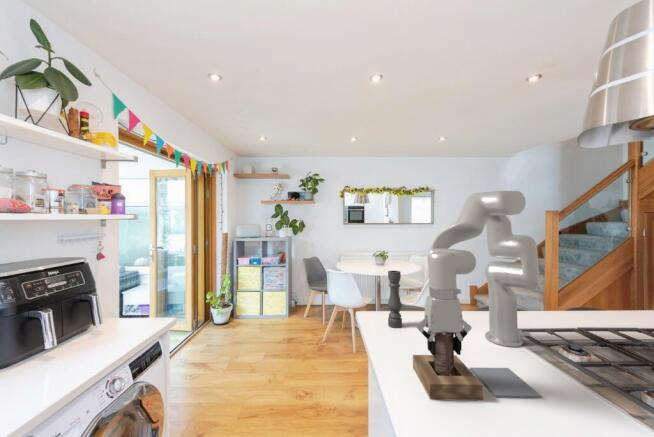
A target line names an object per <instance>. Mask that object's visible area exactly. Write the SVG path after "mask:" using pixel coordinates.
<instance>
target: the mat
mask: <svg viewBox="0 0 654 437" xmlns="http://www.w3.org/2000/svg"><path fill="white" fill-rule="evenodd" d="M469 370H470V371H471V372H472V373H473V375H474V376H475V377H476V378H477V379H478V380H479V381H480V382H481V383H482V384H483V385H484V386H485V387H486V389H488V391H489V392H491V394H492V395H493V396H494V398H496V399H497V398H502V399H503V398H505V399H511V398H512V399H542V397H543V396H542V395H541V394H540V393H539V392H538V391H537V390H535V389H534V388H533V387H532V386H530V385H529V384H528V383H527V382H526V381H524V379H522V378H521V377H520V376H519V375H517V374H516V373H515V372H514V371H513V370H511V368H509V367H470V368H469Z"/></svg>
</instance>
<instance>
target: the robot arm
mask: <svg viewBox="0 0 654 437" xmlns="http://www.w3.org/2000/svg"><path fill="white" fill-rule="evenodd" d="M526 204H527V202H526V197H525V194H523V193H522V192H521V191H519V190H495V191H483V192H482V191H481V192H476V193H472V194H470V195H469V196H468V197H467V199H466V200H465V202H464V204H463V207H462V209H461V211H460V213H459V216H458V218H457V220H456V222H455V223H453V224H451V225H450V226H448V227H447V228H445V229H444V230H442V232H440V233H438V235H437V236H436V237H435V238H434V240H433V242H432V244H431V245H430V248H429V250H428V253H427V260H426V262H427V266H428V284H429V285H428V287H429V295H427V296H426V298H425V305H424V318H423V319H422V320H421V321H420V322H419V323H418V324H417V325H416V326H415V327H416V328H417V330H418V331H419V333H421V335H423V336H424V337H425V338H426V339H427V341H426V342H427V350H428V352H429V353H430V355H435V342H434V336H435V334H436V333H454V353H455V354H456V355H458V356H461V354H462V353H461V352H462V350H463V349H462V342H463V341H464V338H466V336H467V335H468V334H469V332H470V331H471V330H472V327H473V326H471V325H470V324H469V323H468V322H467V321H465V320H464V318H463V312H462V307H461V306H462V305H461V302H460V298H459V297H458V295H459V294H462V290H461V289H460V288H458V287H457V275H469V274H470V273H472V272H473V271H474V270H475V268H476V267H477V266H476V265H477V260H476V259H477V258H476V256H475V255H474V254H473V253H472V252H471V251H469V250H465V249H453V248H451V247H452V246H454V245H456V244H460V243H462V242H465V241H469V240H472V239H474V238H475V239H476V238H477V237H479V236H480V235H481V234H482V233H483V231H484V228H486V229H485V230H486V242H487V250H488V254H489V255H490V256H491V257H493V258H496V259H504V260H514V261H515V260H516V261H519V262H516V261H515V262H514V261H513V262H512V261H504V260H492V261H490V262H488V263H487V264H486V266H485V270H484V272H485V273H484V274H485V277H486V282H487V290H488V291H487V292H488V323H489V331H487V332H485V334H484V337H485V339H486V340H487V341H489V342H491V343H494V344H496V345H499V346H502V347H503V346H504V347H508V348H509V347H510V348H511V347H512V348H513V347H515V348H517V347H522V344H524V341H523V339H522V338H526V337H525V336H530V337H529V338H531V336H532V335H531V332H530V331H524V330H522V329H518V327H519V326H518V325H519V324H518V298H517V295H516V293H515V291H514V290H513V289H512V287H513V288H518V289H519V288H520V289H527V290H534V289H536V288H537V287H538V286H539V283H540V269H539V268H540V266H539V256H538V246H537V242H536V240H535V239H534V238H533V237H532V236H529V235H524V234H513V230H512V222H511V220H510V218H509V217H508V216H513V215H514V216H515V215H519V214H521V213H522V212H523V211H524V210H525V207H526ZM424 328H428V329H427V331H426V330H425V329H424Z"/></svg>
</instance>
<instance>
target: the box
mask: <svg viewBox="0 0 654 437" xmlns="http://www.w3.org/2000/svg"><path fill="white" fill-rule="evenodd" d="M454 337H455V335H454V333H436V334H435V336H434V339H433V341H434V342H435V355H434V372H436V373H439V374H438V375H440V376H451V373H452V371H453V369H454V355H455V351H454Z"/></svg>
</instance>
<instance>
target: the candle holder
mask: <svg viewBox="0 0 654 437" xmlns="http://www.w3.org/2000/svg"><path fill="white" fill-rule="evenodd" d="M401 275H402V274H401V271H399V270H388V271H387V279H388V281H389V284H388V287H389V291H390V295H389V299H388V304H387V308H388V309H389V313H388V317H387V325H388V327H389V328H393V329H401V328H402V327H403V318H402V314H401V313H400V312H401V309H402V307H403V306H402V302H401V297H400V287H401V284H400V281H401V278H402V277H401Z"/></svg>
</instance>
